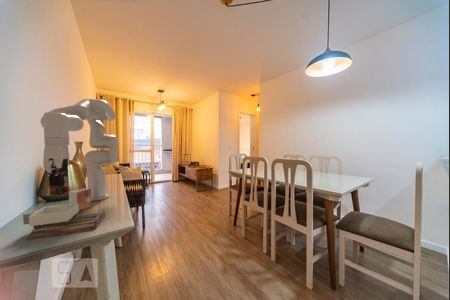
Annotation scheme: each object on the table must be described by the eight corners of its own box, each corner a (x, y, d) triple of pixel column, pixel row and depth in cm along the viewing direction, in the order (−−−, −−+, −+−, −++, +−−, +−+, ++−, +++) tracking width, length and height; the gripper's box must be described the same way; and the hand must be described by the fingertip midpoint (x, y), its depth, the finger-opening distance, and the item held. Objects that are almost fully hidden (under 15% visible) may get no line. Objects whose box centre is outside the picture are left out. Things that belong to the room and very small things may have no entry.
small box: (77, 212, 89) (76, 192, 89) (69, 210, 90) (68, 191, 90) (92, 206, 97) (91, 188, 96) (84, 205, 98) (83, 187, 98)
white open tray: (36, 221, 74) (35, 207, 74) (78, 215, 80) (78, 203, 79) (19, 232, 65) (18, 217, 64) (68, 225, 70) (67, 211, 70)
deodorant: (54, 192, 74) (53, 158, 73) (71, 190, 76) (70, 158, 76) (46, 196, 69) (44, 160, 68) (64, 194, 71) (63, 159, 70)
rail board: (48, 222, 77) (48, 215, 77) (105, 215, 85) (104, 208, 85) (26, 239, 64) (25, 231, 64) (95, 229, 72) (95, 221, 72)
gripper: (57, 141, 78) (58, 179, 79) (31, 142, 62) (33, 189, 63) (77, 141, 81) (78, 178, 82) (57, 142, 65) (59, 187, 66)
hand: (59, 183), depth 72 cm, fingers closed on deodorant, 5 cm apart
